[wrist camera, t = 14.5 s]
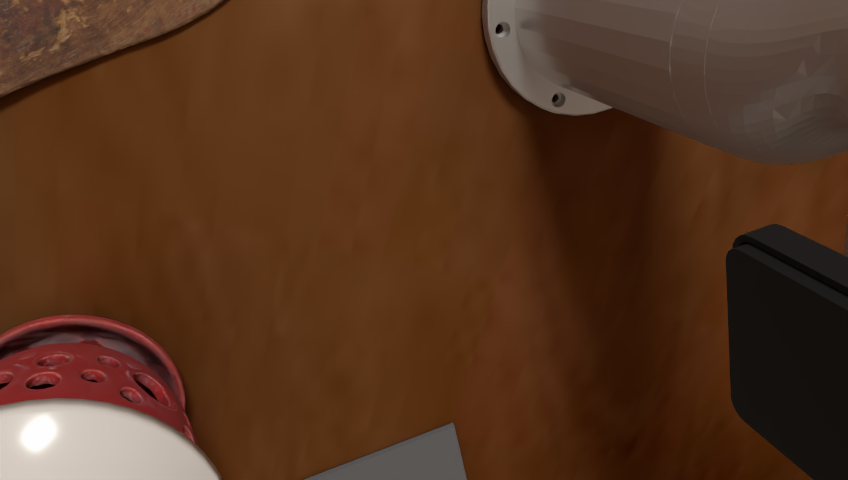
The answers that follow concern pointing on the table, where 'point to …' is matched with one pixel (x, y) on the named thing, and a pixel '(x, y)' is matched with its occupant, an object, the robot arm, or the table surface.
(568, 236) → the table surface
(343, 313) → the table surface
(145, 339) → the plant pot
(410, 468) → the mat
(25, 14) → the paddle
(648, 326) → the table surface
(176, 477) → the lid
